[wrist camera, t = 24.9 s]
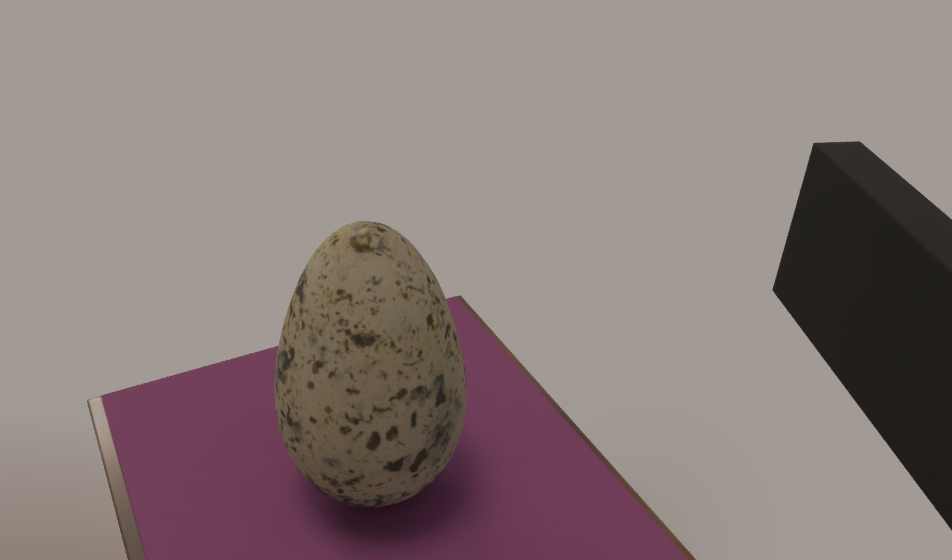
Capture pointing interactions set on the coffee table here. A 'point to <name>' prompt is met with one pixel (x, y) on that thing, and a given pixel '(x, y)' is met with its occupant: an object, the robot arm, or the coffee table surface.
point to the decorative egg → (369, 370)
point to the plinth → (126, 513)
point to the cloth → (364, 528)
